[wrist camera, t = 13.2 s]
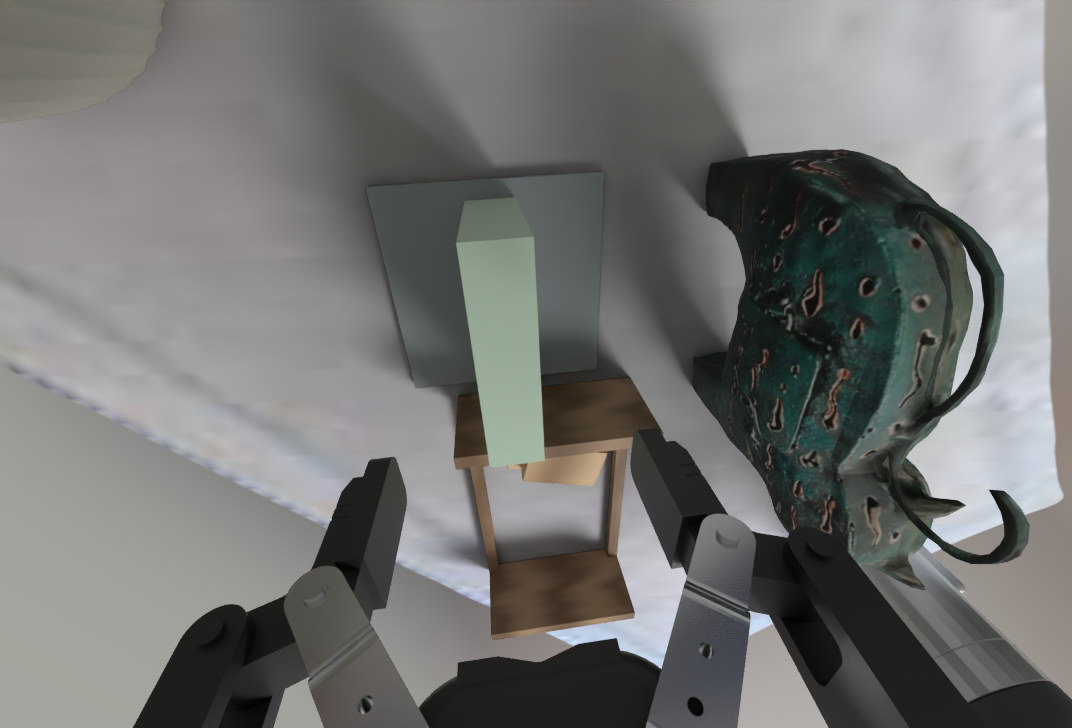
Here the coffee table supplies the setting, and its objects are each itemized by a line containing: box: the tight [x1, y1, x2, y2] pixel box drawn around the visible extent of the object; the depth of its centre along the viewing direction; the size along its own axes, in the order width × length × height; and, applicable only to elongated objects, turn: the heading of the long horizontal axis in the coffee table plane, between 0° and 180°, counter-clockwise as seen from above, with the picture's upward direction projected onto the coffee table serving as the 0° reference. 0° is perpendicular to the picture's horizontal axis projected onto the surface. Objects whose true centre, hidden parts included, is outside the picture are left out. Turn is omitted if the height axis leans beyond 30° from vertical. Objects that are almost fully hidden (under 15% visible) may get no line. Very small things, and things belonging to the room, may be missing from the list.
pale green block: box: [456, 197, 545, 468], centre depth 23 cm, size 3×12×10 cm, turn 3°
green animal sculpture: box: [693, 149, 1030, 590], centre depth 21 cm, size 20×6×20 cm, turn 9°
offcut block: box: [507, 451, 607, 486], centre depth 33 cm, size 8×4×4 cm, turn 77°
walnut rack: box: [454, 377, 663, 640], centre depth 35 cm, size 14×24×7 cm, turn 3°
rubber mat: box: [365, 171, 604, 388], centre depth 27 cm, size 14×14×1 cm
